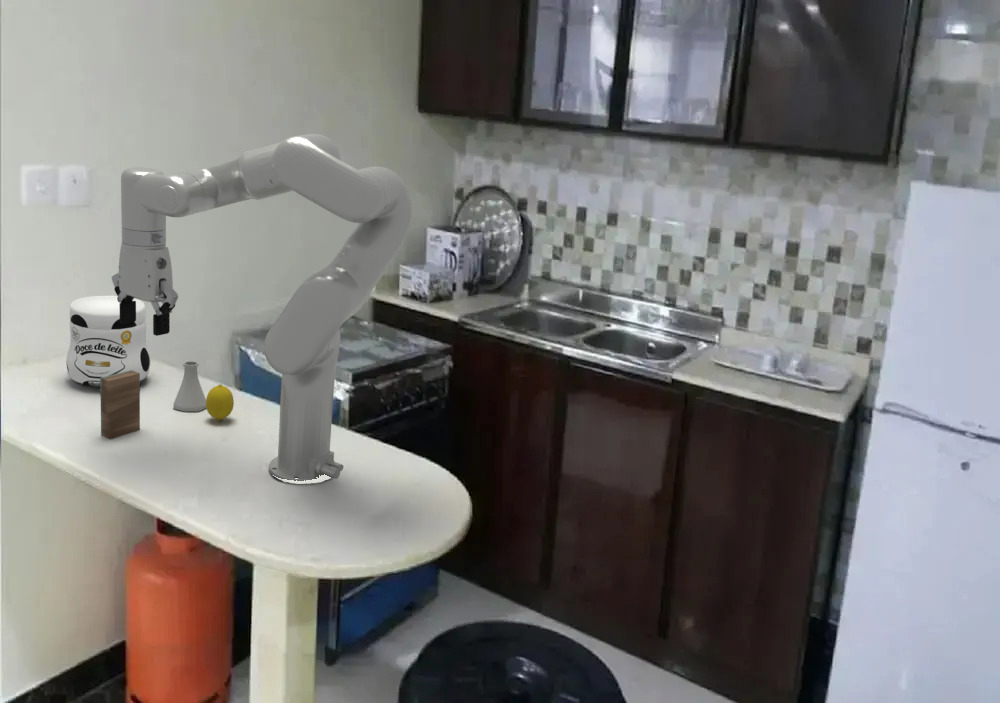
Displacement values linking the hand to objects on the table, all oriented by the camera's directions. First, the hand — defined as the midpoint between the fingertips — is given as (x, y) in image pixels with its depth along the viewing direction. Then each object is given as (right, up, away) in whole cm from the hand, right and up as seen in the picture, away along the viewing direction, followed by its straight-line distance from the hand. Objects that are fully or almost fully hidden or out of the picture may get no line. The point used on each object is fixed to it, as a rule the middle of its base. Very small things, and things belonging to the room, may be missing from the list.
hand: (144, 328), depth 174 cm
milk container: (-22, -11, +35) cm, 43 cm away
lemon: (+8, -19, +21) cm, 29 cm away
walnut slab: (-8, -20, +10) cm, 24 cm away
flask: (0, -17, +27) cm, 31 cm away
